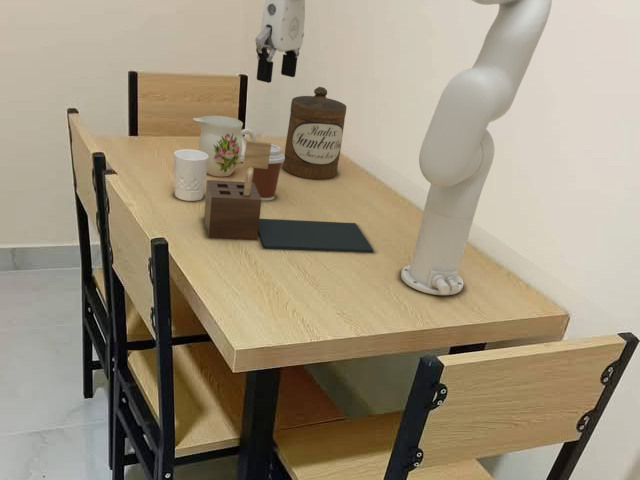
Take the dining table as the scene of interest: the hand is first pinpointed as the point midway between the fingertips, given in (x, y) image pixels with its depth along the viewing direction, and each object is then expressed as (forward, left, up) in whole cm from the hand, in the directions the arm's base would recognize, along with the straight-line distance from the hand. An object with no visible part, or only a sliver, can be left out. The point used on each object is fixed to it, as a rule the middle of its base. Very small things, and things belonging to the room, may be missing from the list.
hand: (276, 78), depth 153 cm
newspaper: (+50, +2, -31) cm, 59 cm away
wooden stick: (-10, +6, -31) cm, 33 cm away
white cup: (+11, +16, -31) cm, 36 cm away
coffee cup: (+14, -2, -31) cm, 34 cm away
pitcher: (+30, +6, -31) cm, 44 cm away
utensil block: (-8, +8, -31) cm, 32 cm away
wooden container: (+36, -19, -31) cm, 51 cm away
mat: (-10, -10, -31) cm, 34 cm away
